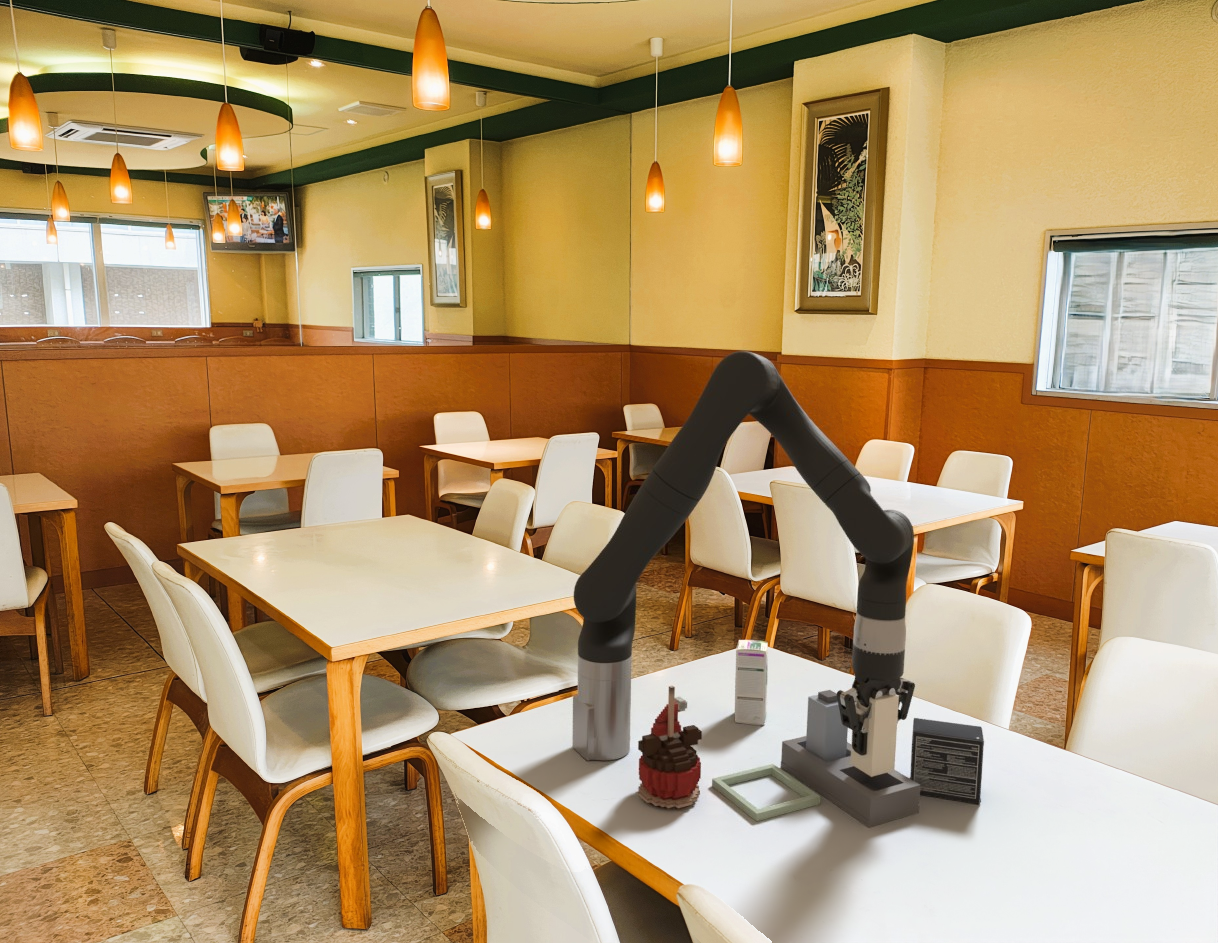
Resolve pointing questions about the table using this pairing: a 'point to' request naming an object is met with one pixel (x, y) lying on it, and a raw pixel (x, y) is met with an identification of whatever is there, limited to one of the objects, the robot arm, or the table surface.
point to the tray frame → (771, 811)
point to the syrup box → (751, 682)
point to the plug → (879, 736)
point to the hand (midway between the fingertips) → (873, 749)
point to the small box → (947, 760)
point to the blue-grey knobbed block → (825, 727)
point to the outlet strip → (852, 785)
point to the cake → (670, 759)
